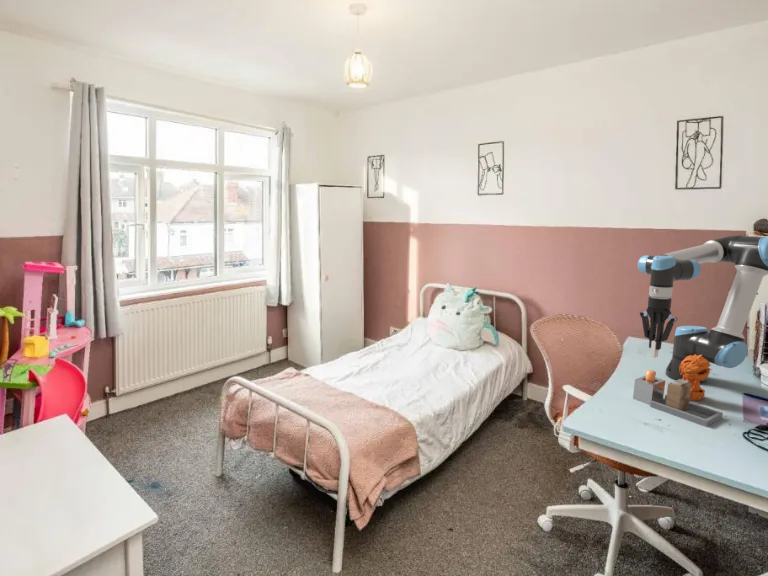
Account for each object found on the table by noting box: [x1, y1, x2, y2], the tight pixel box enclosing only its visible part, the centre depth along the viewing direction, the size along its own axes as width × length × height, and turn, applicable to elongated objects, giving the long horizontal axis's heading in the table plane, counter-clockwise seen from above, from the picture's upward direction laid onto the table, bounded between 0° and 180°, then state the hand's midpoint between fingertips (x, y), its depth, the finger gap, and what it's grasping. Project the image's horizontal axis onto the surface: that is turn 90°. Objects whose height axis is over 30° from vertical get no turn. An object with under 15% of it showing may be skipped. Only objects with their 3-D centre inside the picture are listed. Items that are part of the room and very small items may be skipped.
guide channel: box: [649, 394, 723, 428], centre depth 171 cm, size 12×19×2 cm, turn 33°
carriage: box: [664, 379, 692, 412], centre depth 173 cm, size 8×4×11 cm, turn 123°
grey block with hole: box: [632, 374, 666, 406], centre depth 182 cm, size 9×7×8 cm
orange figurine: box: [679, 354, 712, 402], centre depth 182 cm, size 11×11×18 cm
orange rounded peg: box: [645, 369, 657, 383], centre depth 181 cm, size 3×3×6 cm
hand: (653, 356), depth 179 cm, fingers closed
